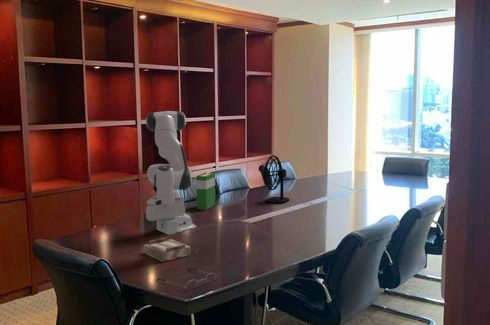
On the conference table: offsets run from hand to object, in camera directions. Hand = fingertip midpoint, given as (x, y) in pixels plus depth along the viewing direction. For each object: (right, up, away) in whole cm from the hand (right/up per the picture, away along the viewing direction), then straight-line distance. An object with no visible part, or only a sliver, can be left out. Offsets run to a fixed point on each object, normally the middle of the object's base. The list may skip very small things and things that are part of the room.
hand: (166, 227), depth 233 cm
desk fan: (+63, +2, +131) cm, 145 cm away
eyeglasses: (+14, -18, -33) cm, 40 cm away
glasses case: (0, -2, 0) cm, 2 cm away
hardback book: (+11, -1, +109) cm, 109 cm away
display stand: (0, -14, +2) cm, 14 cm away
